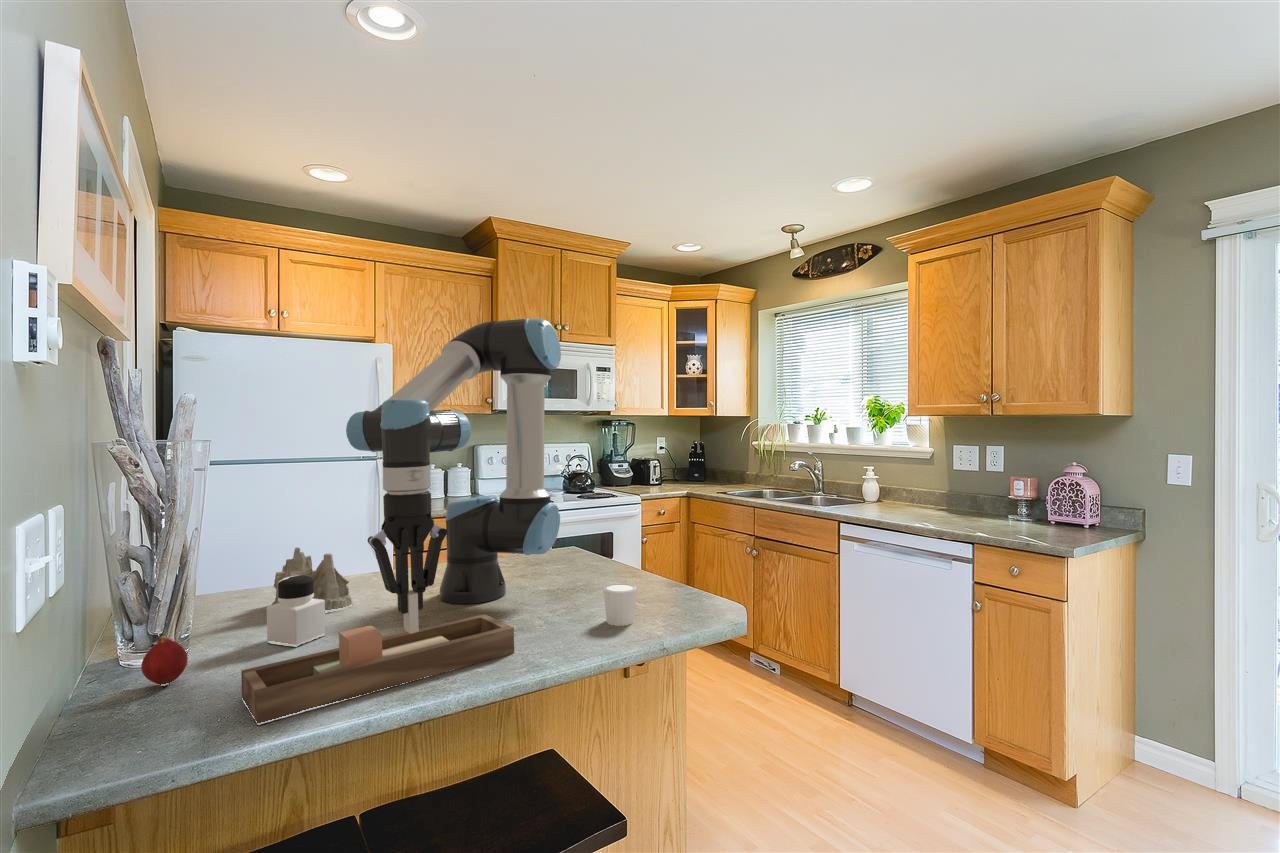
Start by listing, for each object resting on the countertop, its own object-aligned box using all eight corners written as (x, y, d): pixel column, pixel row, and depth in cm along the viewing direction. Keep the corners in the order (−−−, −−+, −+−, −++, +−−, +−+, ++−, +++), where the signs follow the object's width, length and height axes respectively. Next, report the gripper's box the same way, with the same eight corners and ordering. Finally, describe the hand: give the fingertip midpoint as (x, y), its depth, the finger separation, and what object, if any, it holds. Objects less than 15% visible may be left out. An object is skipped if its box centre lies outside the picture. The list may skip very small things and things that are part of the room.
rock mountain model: (355, 609, 141) (350, 541, 142) (269, 625, 133) (264, 552, 134) (349, 597, 155) (345, 534, 155) (271, 610, 147) (267, 544, 147)
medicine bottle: (326, 635, 125) (325, 574, 125) (295, 648, 118) (294, 583, 118) (298, 632, 127) (296, 571, 127) (266, 644, 120) (265, 580, 120)
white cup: (633, 627, 127) (632, 592, 127) (599, 626, 129) (599, 591, 129) (640, 617, 134) (639, 583, 134) (608, 615, 135) (607, 582, 135)
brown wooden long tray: (241, 700, 96) (241, 670, 96) (484, 637, 123) (484, 613, 123) (257, 726, 88) (256, 693, 88) (514, 652, 114) (513, 627, 114)
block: (339, 663, 103) (338, 632, 102) (371, 655, 106) (371, 625, 106) (349, 672, 99) (348, 640, 99) (382, 663, 102) (382, 632, 102)
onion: (158, 679, 105) (157, 630, 104) (195, 677, 105) (194, 629, 105) (133, 694, 99) (132, 642, 99) (173, 692, 99) (171, 641, 99)
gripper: (375, 497, 100) (379, 646, 101) (453, 489, 109) (457, 626, 110) (359, 493, 106) (363, 634, 107) (435, 485, 115) (438, 616, 115)
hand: (411, 630), depth 108 cm, fingers closed
